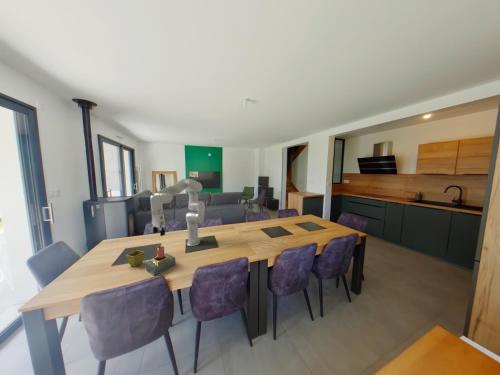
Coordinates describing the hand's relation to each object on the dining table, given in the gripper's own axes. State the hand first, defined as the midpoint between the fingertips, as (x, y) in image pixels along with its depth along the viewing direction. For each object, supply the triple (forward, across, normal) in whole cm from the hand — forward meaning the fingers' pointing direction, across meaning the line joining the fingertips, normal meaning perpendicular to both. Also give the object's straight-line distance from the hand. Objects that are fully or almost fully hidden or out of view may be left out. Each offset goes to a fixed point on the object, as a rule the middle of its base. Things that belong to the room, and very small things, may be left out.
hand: (159, 234), depth 125 cm
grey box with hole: (+25, -1, +1) cm, 25 cm away
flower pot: (+25, +20, +9) cm, 33 cm away
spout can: (+23, -1, +1) cm, 23 cm away
